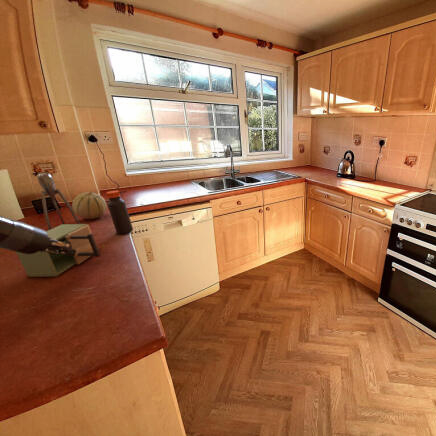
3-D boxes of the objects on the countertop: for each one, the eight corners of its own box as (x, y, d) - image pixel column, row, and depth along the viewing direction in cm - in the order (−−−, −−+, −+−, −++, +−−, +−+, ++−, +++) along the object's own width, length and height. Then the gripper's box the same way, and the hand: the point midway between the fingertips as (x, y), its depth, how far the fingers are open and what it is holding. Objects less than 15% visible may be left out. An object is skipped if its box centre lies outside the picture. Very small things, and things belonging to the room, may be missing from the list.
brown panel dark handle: (76, 264, 91) (64, 236, 86) (95, 252, 99) (85, 226, 94) (99, 264, 90) (88, 235, 86) (115, 252, 99) (106, 225, 94)
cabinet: (28, 276, 85) (12, 246, 80) (72, 250, 101) (61, 224, 97) (58, 276, 84) (44, 245, 80) (98, 250, 101) (88, 224, 96)
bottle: (127, 228, 122) (115, 189, 114) (136, 229, 119) (124, 190, 112) (113, 233, 116) (99, 193, 109) (123, 235, 114) (109, 194, 106)
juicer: (84, 233, 117) (60, 171, 106) (53, 241, 109) (24, 176, 98) (81, 228, 123) (58, 169, 112) (51, 235, 116) (24, 173, 104)
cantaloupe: (84, 215, 141) (75, 190, 135) (113, 211, 145) (105, 187, 139) (72, 224, 128) (61, 197, 122) (104, 220, 132) (95, 194, 126)
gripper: (47, 223, 67) (96, 242, 83) (1, 224, 67) (58, 242, 83) (36, 250, 64) (89, 264, 80) (-13, 250, 64) (50, 264, 80)
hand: (73, 253), depth 81 cm, fingers closed
